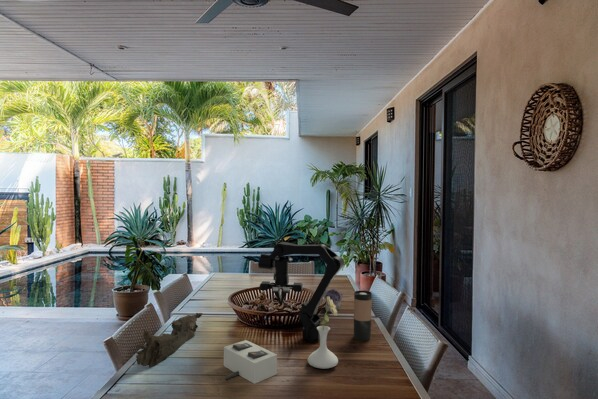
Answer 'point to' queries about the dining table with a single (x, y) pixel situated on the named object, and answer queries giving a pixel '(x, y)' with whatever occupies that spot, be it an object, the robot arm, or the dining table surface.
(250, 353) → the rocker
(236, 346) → the rocker
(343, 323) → the dining table surface
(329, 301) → the flower in vase
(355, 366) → the dining table surface
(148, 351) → the driftwood
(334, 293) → the geode
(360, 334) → the travel mug
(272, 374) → the box
